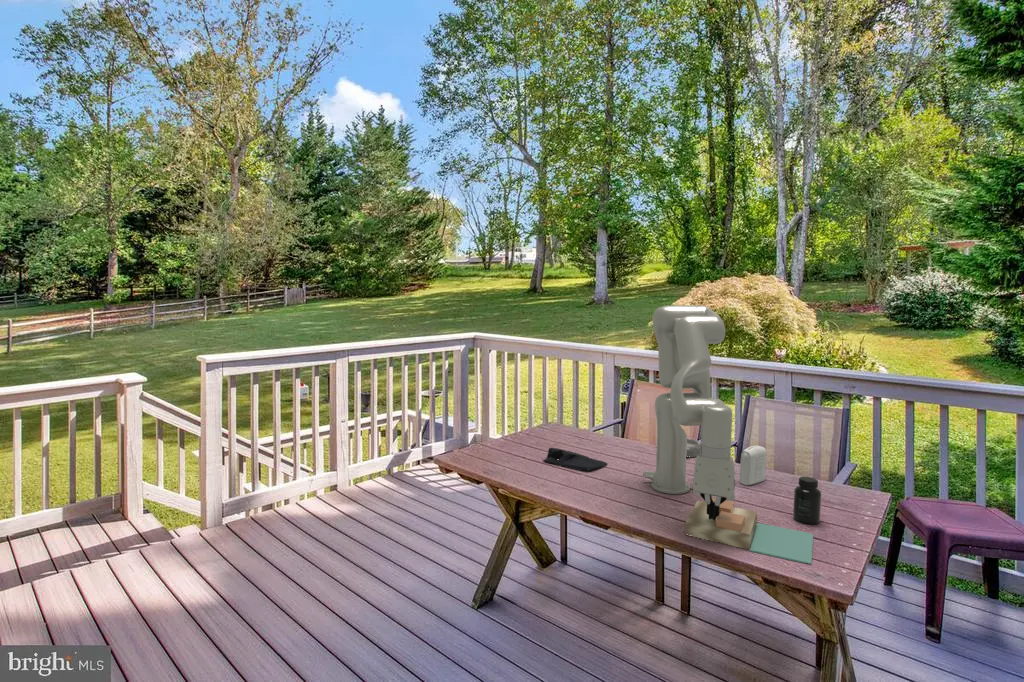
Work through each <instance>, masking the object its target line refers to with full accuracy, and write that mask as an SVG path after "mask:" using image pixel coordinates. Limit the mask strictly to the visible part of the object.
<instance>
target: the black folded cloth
mask: <svg viewBox="0 0 1024 682" xmlns="http://www.w3.org/2000/svg"><path fill="white" fill-rule="evenodd" d="M557 459H559V460H557ZM542 462H544V463H546V462H547V463H548V462H549V464H552V465H555V466H559V465H561V466H560V467H565V466H567V467H566V468H569V467H572V468H571V469H574V468H575V469H574V470H578V469H581V470H580V471H585V470H586V472H588V471H592V470H596V469H599V468H604V466H605V467H607V466H608V465H607V464H608V463H607V462H605V461H604V460H603V461H602V460H599V459H596V458H592V457H589V456H586V455H584V454H580V453H577V452H573V451H571V450H565V449H562V448H558V447H557V448H556V447H549V448H548V451H547V456H546V458H544V459H543V460H542ZM606 465H607V466H606Z"/></svg>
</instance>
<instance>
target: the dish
mask: <svg viewBox="0 0 1024 682" xmlns="http://www.w3.org/2000/svg"><path fill="white" fill-rule="evenodd" d="M700 443H701V442H699V441H698V440H696V439H694V438H689V437H687V456H688V457H687V458H694V457H697V455H698V454H699V453H700V451H699V450H698V449H695V444H700ZM689 456H690V457H689Z"/></svg>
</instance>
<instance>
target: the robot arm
mask: <svg viewBox="0 0 1024 682" xmlns="http://www.w3.org/2000/svg"><path fill="white" fill-rule="evenodd" d="M652 330H653V334H654V335H655V339H656V343H657V347H658V349H657V350H658V378H659V382H660V385H661V386H662V387H663V388H666V389H670V392H664V393H662V394H660V395H658V396H657V397H656V399H655V402H654V411H655V417H656V418H655V420H656V453H655V455H656V456H655V457H656V459H655V470H653V471H650V470H643V477H644V478H645V479H650V480H651V481H650V486H651V488H652V490H655V491H657V492H659V493H664V494H669V495H682V494H686V493H688V492H690V491H691V484H690V483H689V482H687V478H686V477H687V458H688V457H687V438H688V435H687V433H686V431H685V430H684V428H683V427H682V426H685V427H687V426H689V427H692V426H695V427H696V426H701V428H700V442H699V443H700V444H695V449H698V450H699V451H700V453H699V454H698V455H697V456H695V457H696V458H695V462H694V468H693V470H694V471H693V480H692V489H693V490H692V493H693V494H695V495H697V496H700V497H701V498H702V499H703V500H704V502H706V504H707V514H708V515H709V519H713V520H715V519H716V517H717V516H719V509H720V504H721V503H723V502H724V501H732V502H734V501H735V500H736V495H735V494H736V493H735V489H736V474H735V473H736V471H735V461H734V457H732V456H731V452H732V450H731V449H732V448H731V447H732V433H733V432H732V428H733V409H732V408H731V407H730V406H728V405H726V404H725V402H724V401H723V400H722V399H719V398H714V397H713V398H712V397H711V396H712V395H711V394H712V393H711V387H712V386H711V373H710V371H711V370H710V367H711V366H712V358H711V355H710V348H709V344H710V345H715V344H716V345H718V344H721V343H722V342H723V341H724V340H725V337H726V327H725V323H724V321H723V320H722V318H721V316H720V315H719V314H717V313H716V312H715V311H714V310H713V309H711V308H710V307H708V306H706V305H699V304H698V305H697V304H696V305H695V304H693V305H688V304H687V305H686V304H685V305H682V304H681V305H680V304H679V305H674V304H673V305H671V304H670V305H663V306H660V307H657V308H656V309H655V310H654V312H653V315H652ZM683 389H692V392H684V391H683ZM686 457H687V458H686ZM713 497H715V498H716V500H715V502H713V500H712V498H713Z"/></svg>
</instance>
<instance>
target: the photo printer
mask: <svg viewBox="0 0 1024 682" xmlns="http://www.w3.org/2000/svg"><path fill="white" fill-rule="evenodd" d="M767 454H768V453H767V450H766V448H765V447H764V446H761V445H751V446H748V447H747V448H745V449H744V450H743V451H742V452H741V454H740V466H739V469H740V470H739V482H740V483H741V484H742V485H745V486H751V485H755V484H758V483H760V482H763V481H765V480H766V471H767V470H766V469H767Z"/></svg>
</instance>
